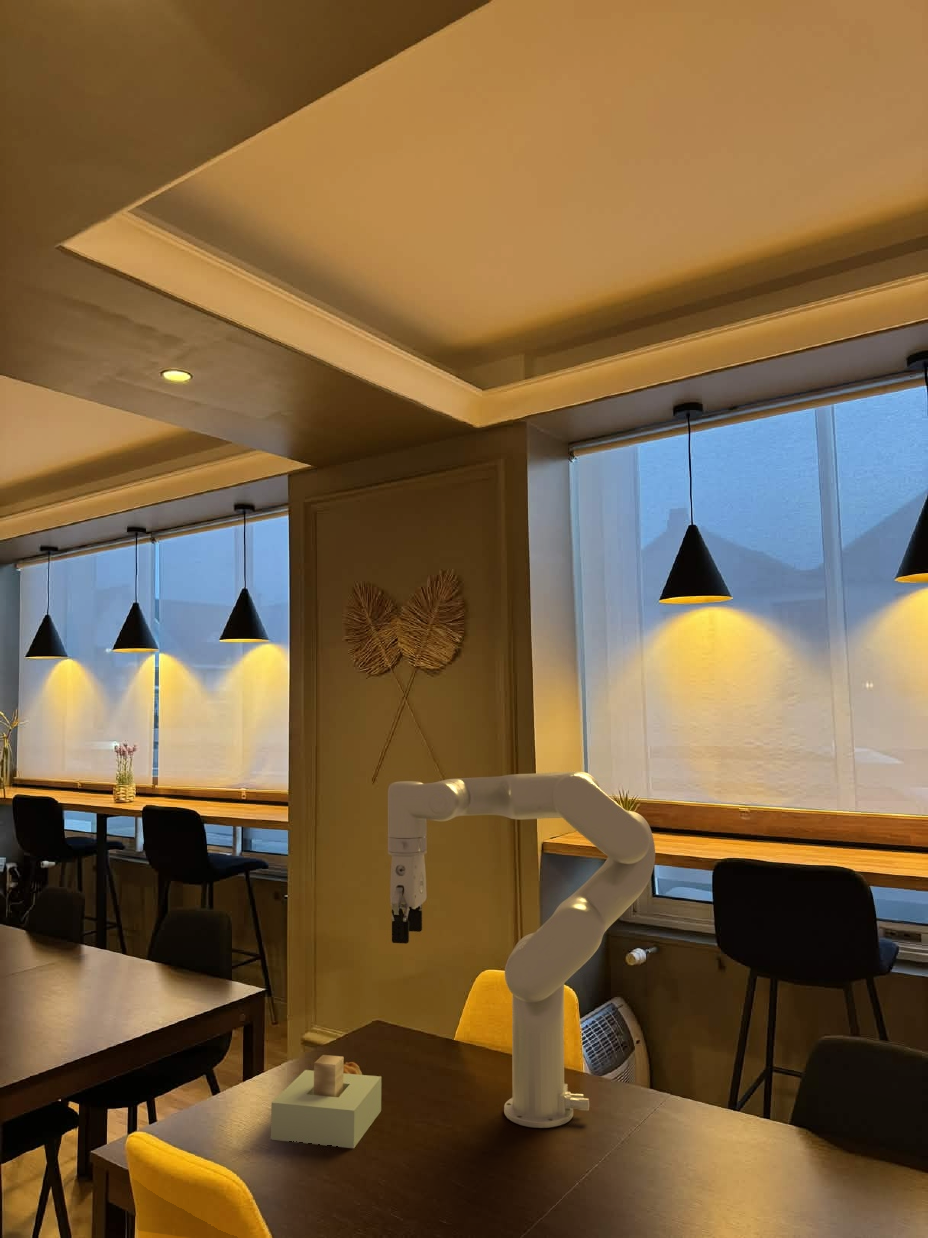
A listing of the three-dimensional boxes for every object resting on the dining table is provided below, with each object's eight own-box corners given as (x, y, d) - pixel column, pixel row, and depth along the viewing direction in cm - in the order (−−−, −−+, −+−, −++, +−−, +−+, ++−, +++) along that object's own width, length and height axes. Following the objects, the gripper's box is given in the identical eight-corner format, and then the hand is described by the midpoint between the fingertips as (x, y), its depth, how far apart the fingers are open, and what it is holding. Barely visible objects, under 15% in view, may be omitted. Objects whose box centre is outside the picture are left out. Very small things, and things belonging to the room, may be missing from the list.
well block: (381, 1111, 165) (381, 1076, 165) (353, 1148, 150) (354, 1110, 151) (304, 1103, 168) (305, 1070, 168) (270, 1139, 153) (271, 1102, 154)
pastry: (330, 1100, 170) (330, 1079, 170) (307, 1091, 174) (307, 1070, 175) (366, 1085, 177) (366, 1065, 177) (343, 1077, 181) (343, 1057, 182)
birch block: (342, 1115, 160) (343, 1056, 162) (334, 1125, 157) (335, 1065, 158) (321, 1113, 161) (322, 1055, 163) (313, 1122, 158) (314, 1063, 159)
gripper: (414, 852, 165) (414, 948, 163) (436, 840, 182) (436, 927, 180) (375, 851, 166) (375, 947, 164) (400, 840, 183) (400, 926, 181)
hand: (407, 937), depth 172 cm, fingers open, 9 cm apart
